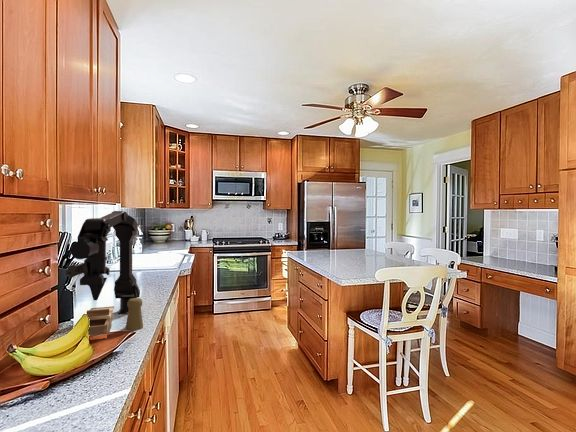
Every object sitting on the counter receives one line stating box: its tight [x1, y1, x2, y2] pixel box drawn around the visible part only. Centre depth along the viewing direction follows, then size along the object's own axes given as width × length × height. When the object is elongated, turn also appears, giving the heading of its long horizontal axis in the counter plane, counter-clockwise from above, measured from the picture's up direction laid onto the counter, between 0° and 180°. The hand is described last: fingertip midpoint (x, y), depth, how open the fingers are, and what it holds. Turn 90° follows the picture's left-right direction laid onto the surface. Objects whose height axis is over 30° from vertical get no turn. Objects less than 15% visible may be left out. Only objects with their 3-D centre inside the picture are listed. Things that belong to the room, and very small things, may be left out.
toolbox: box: [89, 315, 113, 337], centre depth 113 cm, size 12×8×4 cm, turn 22°
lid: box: [86, 305, 115, 320], centre depth 120 cm, size 12×8×3 cm, turn 22°
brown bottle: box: [125, 297, 144, 332], centre depth 119 cm, size 6×6×11 cm
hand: (95, 300), depth 110 cm, fingers closed
